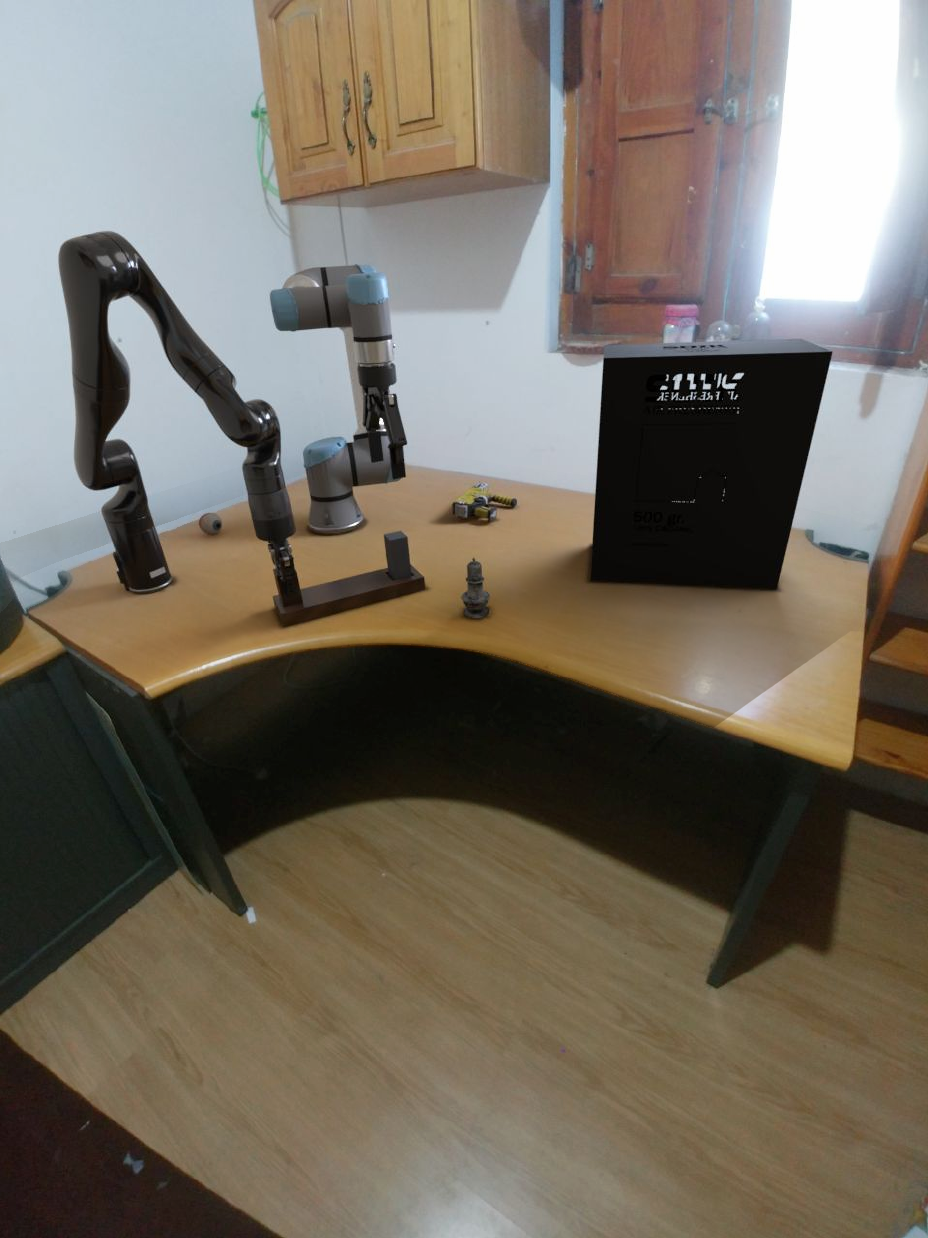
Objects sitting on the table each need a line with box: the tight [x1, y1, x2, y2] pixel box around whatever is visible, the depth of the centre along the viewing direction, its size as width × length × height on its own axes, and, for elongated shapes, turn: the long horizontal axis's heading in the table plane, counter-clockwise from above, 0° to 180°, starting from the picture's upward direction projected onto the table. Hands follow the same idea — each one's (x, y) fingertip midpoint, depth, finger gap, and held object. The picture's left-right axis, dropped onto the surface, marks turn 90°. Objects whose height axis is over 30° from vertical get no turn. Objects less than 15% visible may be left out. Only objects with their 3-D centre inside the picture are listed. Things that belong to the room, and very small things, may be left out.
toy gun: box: [451, 480, 518, 523], centre depth 174 cm, size 5×24×15 cm
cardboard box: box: [589, 338, 834, 590], centre depth 125 cm, size 38×20×45 cm, turn 78°
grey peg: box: [383, 530, 412, 581], centre depth 132 cm, size 4×4×12 cm
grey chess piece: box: [460, 557, 491, 619], centre depth 119 cm, size 6×6×12 cm
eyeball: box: [198, 512, 223, 536], centre depth 167 cm, size 6×6×6 cm
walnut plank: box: [272, 563, 426, 627], centre depth 128 cm, size 31×9×10 cm, turn 116°
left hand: (289, 591), depth 123 cm, fingers closed on walnut plank, 4 cm apart
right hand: (387, 469), depth 130 cm, fingers open, 13 cm apart
